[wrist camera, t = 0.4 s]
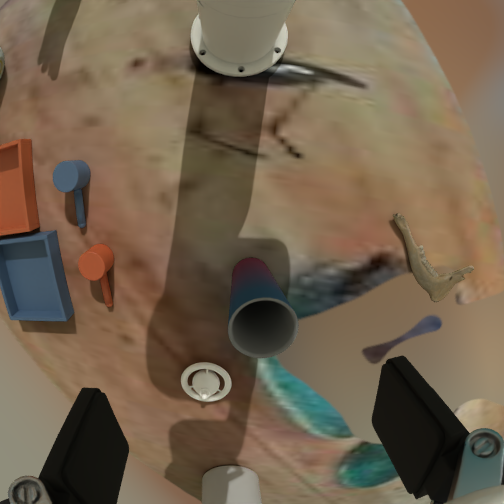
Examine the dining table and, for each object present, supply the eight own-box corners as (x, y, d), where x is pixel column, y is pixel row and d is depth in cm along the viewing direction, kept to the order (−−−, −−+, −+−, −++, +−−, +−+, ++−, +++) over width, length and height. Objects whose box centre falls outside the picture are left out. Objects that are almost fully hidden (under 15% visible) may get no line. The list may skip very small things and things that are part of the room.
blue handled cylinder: (65, 162, 37) (51, 163, 34) (89, 158, 38) (77, 158, 34) (72, 228, 40) (59, 234, 36) (96, 225, 40) (85, 232, 37)
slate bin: (0, 237, 39) (-11, 242, 36) (56, 230, 40) (46, 235, 37) (18, 312, 43) (10, 320, 40) (74, 312, 44) (66, 321, 41)
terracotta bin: (-21, 156, 35) (-33, 157, 32) (31, 139, 36) (20, 138, 33) (-13, 234, 39) (-23, 239, 36) (40, 226, 39) (29, 231, 37)
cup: (219, 289, 45) (219, 349, 30) (234, 244, 43) (240, 289, 29) (265, 302, 46) (283, 364, 31) (282, 259, 44) (309, 307, 30)
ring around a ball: (228, 396, 50) (234, 359, 48) (228, 419, 45) (234, 382, 42) (181, 390, 49) (183, 352, 47) (176, 412, 44) (178, 374, 42)
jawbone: (443, 305, 50) (449, 311, 48) (362, 261, 46) (367, 266, 44) (469, 264, 47) (476, 268, 45) (393, 209, 43) (399, 212, 41)
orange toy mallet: (87, 244, 41) (75, 252, 37) (111, 242, 41) (101, 250, 37) (99, 305, 44) (90, 317, 40) (123, 304, 44) (115, 316, 40)
